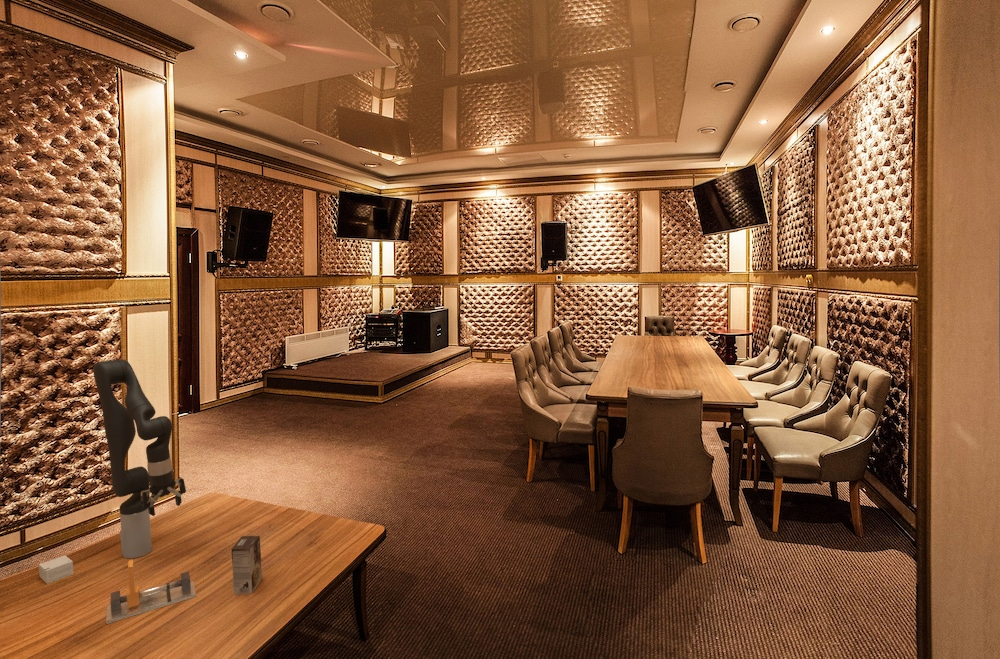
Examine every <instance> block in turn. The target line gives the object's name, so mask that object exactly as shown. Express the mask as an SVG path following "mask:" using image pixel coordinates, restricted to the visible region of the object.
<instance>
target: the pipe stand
mask: <svg viewBox="0 0 1000 659" xmlns="http://www.w3.org/2000/svg"><path fill="white" fill-rule="evenodd" d="M193 598H197V592H196V587H195V582H194V580H193V581H191V576H190V571H189V570H188V571H184V572H182V573H180V579H178V580H174V581H170V582H167V583H164V584H161V585H157V586H154V587H153V586H152V587H151V588H148V589H143V590H140V591H139V605H136V606H133V607H129V608H128V603H127V594H126V595H121V590H116V591H113V592H110V604H109V605H107V606H106V620H105V623H106V625H108V624H111V623H112V624H113V623H114V622H117V621H121V620H124V619H128V618H131V617H134V616H137V615H140V614H141V615H142V614H143V613H147V612H151V611H154V610H158V609H160V608H164V607H167V606H171V605H173V604H177V603H179V602H180V603H181V602H183V601H186V600H187V601H188V600H190V599H193Z"/></svg>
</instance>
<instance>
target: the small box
mask: <svg viewBox="0 0 1000 659" xmlns="http://www.w3.org/2000/svg"><path fill="white" fill-rule="evenodd" d="M38 572H39V578H40V579H42V581H43V582H44V583H46V585H49V584H51V583H54V582H57V581H58V580H62V579H64V578H67V577H69V576H72V575H74V561H73V560H72V559H70V557H68V556H67V555H65V554H64V555H61V556H58V557H55V558H53V559H50V560H48V561H44V562H41V563H39V564H38ZM53 581H54V582H53ZM48 583H49V584H48Z"/></svg>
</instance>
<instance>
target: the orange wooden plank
mask: <svg viewBox="0 0 1000 659" xmlns="http://www.w3.org/2000/svg"><path fill="white" fill-rule="evenodd" d="M127 567H128V580H129V587H128V588H126V595H127V603H128V608H129V607H133V606H136V605H139V585H136V583H135V581H136V580H135V568H134V559H129V560H128V566H127Z"/></svg>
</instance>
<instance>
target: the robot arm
mask: <svg viewBox="0 0 1000 659" xmlns="http://www.w3.org/2000/svg"><path fill="white" fill-rule="evenodd" d="M93 377H94V378H93V379H94V382H95V383H94V384H95V386H96V389H97V394H98V397H99V402H100V406H101V411H102V418H103V427H104V433H105V438H106V441H107V442H106V443H107V446H108V448H107V449H108V454H109V461H110V474H111V475H110V476H111V486H112V489H113V492H114V494H115V496H116V497H118V498H123V497H127V496H129V495H130V497H129V498H127V499H126V500H125V501H123V502H122V503H121V504H119V505H120V506H119V518H120V531H119V536H120V537H119V538H120V547H121V548H120V549H121V554H122V556H123V558H124V559H136V558H140V557H143V556H145V555H147V554H149V553H151V551H152V550H153V548H152V547H153V546H152V532H151V530H152V528H151V517H150V515H151V516H152V517H155V516H156V511H155V506H154V505H155V503H156V502H158V500H159V498H160V499H161V498H163V497H165V496H169V495H170V494H171V493H172V494H174V499H175V500H174V502H175V504H176V506H178V507H179V506H181V504H182V502H183V501H182V495H183V494H185V493H186V492H187V488H186V484H185V480H184V478H183V477H181V476H179V477H177V479H175V477H174V470H173V468H174V467H173V463H172V462H173V461H172V458H171V453H170V441H171V436H172V431H173V424H172V423H173V422H172V420H171V419H170V418H169V417H168V416H166V415H165V416H164V415H162V416H161V415H160V416H158V417H154V416H155V415H156V409H155V407H154V405H153V404H152V403H151V401H150V400H149V398H148V397H147V396H146V395H145V393H144V391H143V389H142V386H141V384H140V382H139V379H138V377H137V375H136V373H135V370H134V369H133V367H132V365H131V364H130V363H129V361H127V360H126V359H121V358H120V359H111V360H104V361H103V360H102V361H98V362H96V363H95V364H94V366H93ZM120 384H125V385H126V387H127V391H126V395H125V397H124V404H125V405H123V404H122V403H121V402H120V401H119V400H118V398H117V397H116V395H115V393H114V391H113V389H112V385H113V386H114V385H120ZM153 417H154V418H153ZM136 433H137V436H138V437H139V439H141V440H143V441H151V440H154V441H153V442H151V443H150V444H148V445H147V446H146V447H145V453H146V460H147V466H146V467H147V469H146V467H144V466H136V467H133V468H130V469H126V467H125V466H126V458H127V455H128V453H129V450H130V448H131V446H132V445H133V442H134V440H135V438H136ZM176 484H177V485H178V488H179V489H178V490H175V489H174V488H175V485H176ZM150 494H151V495H150Z"/></svg>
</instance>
